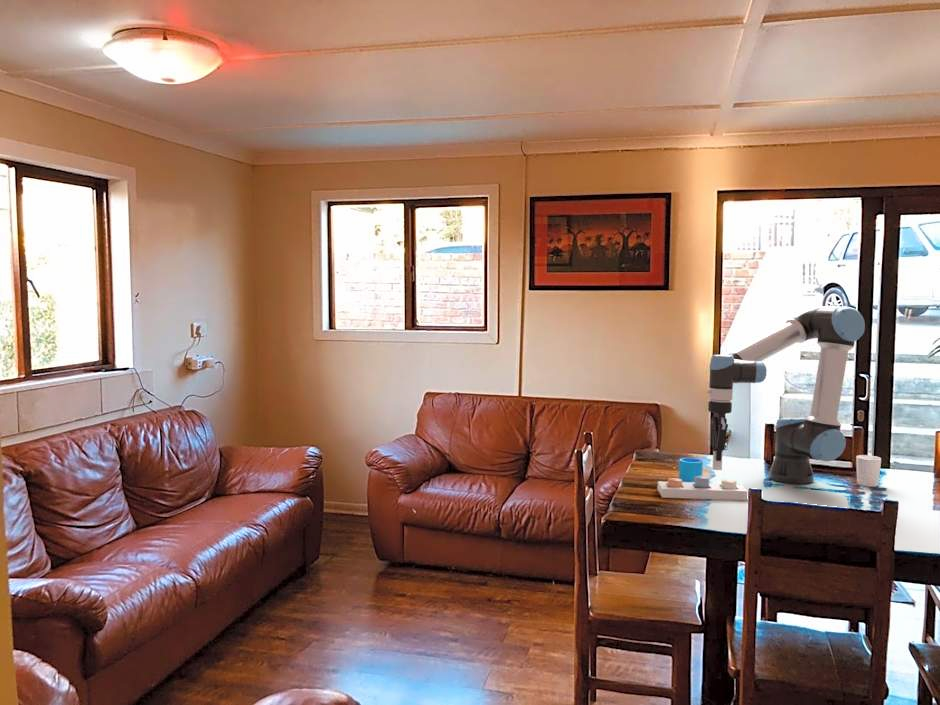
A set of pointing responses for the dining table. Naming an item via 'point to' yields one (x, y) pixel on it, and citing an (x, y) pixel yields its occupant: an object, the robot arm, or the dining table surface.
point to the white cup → (868, 470)
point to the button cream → (728, 484)
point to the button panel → (702, 491)
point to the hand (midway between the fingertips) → (717, 469)
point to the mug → (690, 469)
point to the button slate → (701, 482)
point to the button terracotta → (675, 482)
